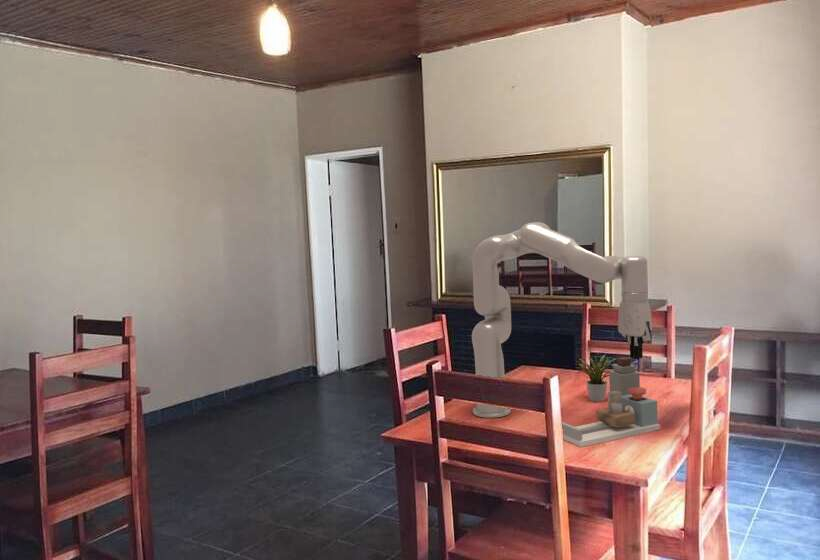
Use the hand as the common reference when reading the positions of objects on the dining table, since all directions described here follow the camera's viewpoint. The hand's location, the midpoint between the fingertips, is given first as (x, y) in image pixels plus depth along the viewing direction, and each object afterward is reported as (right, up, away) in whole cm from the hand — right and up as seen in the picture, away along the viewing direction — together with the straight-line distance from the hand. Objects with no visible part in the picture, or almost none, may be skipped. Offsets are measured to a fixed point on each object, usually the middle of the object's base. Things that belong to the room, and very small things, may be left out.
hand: (636, 357), depth 205 cm
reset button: (+1, -13, +1) cm, 13 cm away
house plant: (-1, -19, +33) cm, 38 cm away
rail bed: (-9, -22, -3) cm, 24 cm away
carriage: (-7, -19, -2) cm, 20 cm away
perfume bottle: (+2, -20, +16) cm, 26 cm away
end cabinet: (+1, -20, +2) cm, 20 cm away
